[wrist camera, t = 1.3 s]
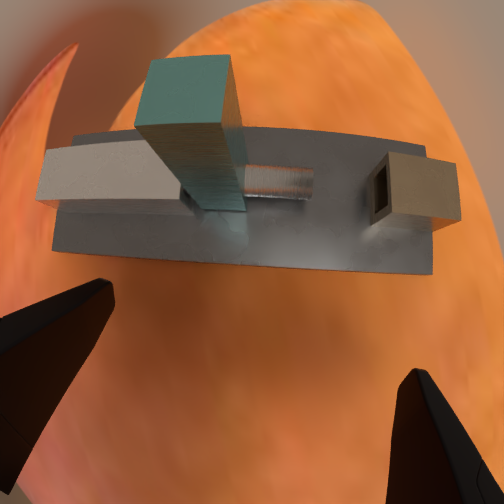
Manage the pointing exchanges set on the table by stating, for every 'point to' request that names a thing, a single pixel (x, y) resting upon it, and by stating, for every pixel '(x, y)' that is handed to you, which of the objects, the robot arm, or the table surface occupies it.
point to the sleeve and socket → (256, 204)
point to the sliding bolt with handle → (208, 135)
